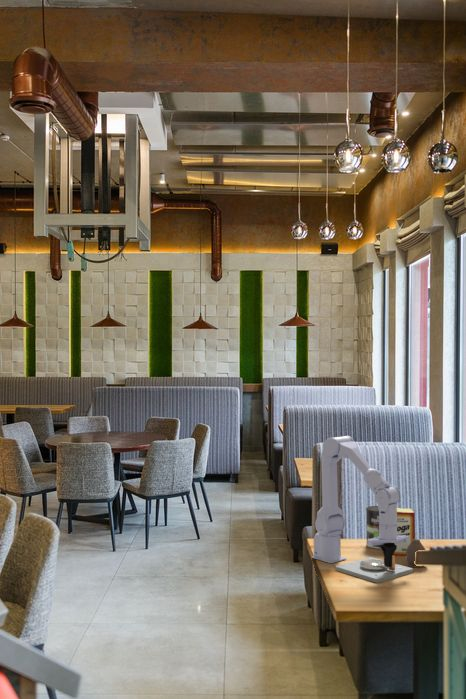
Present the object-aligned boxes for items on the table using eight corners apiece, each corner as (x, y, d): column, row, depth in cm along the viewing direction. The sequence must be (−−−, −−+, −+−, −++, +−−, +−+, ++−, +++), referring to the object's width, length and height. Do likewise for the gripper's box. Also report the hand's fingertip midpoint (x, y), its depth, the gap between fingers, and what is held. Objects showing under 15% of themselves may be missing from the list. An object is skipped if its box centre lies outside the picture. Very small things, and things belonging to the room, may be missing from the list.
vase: (427, 569, 232) (427, 542, 232) (406, 568, 233) (406, 542, 233) (426, 563, 239) (425, 537, 239) (405, 562, 240) (405, 537, 240)
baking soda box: (412, 551, 254) (412, 507, 254) (415, 556, 247) (414, 511, 248) (386, 550, 255) (385, 507, 255) (388, 555, 248) (387, 511, 249)
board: (335, 570, 232) (335, 566, 232) (371, 560, 243) (371, 556, 243) (377, 583, 217) (377, 578, 217) (413, 572, 228) (413, 568, 228)
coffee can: (395, 549, 256) (394, 511, 257) (366, 548, 258) (366, 510, 258) (393, 542, 267) (392, 506, 267) (366, 541, 268) (365, 505, 269)
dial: (355, 567, 229) (355, 553, 229) (367, 561, 236) (367, 548, 236) (388, 573, 222) (388, 559, 222) (400, 567, 229) (400, 553, 229)
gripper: (375, 528, 219) (375, 571, 219) (414, 525, 224) (414, 567, 224) (363, 524, 226) (363, 565, 226) (401, 520, 231) (401, 561, 231)
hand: (388, 566), depth 225 cm, fingers closed, pressing on dial
